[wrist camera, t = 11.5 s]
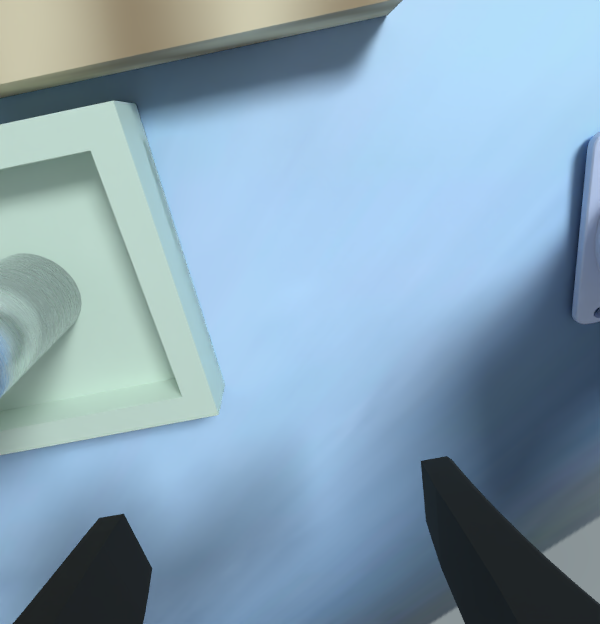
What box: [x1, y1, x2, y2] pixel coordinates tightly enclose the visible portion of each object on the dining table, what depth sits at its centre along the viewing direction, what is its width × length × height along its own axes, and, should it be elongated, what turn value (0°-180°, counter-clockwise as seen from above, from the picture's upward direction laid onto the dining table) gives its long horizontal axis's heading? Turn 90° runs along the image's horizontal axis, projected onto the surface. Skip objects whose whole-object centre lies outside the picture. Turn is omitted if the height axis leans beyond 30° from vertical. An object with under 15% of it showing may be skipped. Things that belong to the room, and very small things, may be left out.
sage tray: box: [0, 101, 225, 455], centre depth 16 cm, size 12×12×2 cm
